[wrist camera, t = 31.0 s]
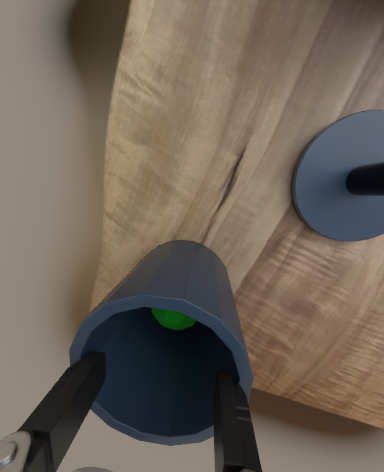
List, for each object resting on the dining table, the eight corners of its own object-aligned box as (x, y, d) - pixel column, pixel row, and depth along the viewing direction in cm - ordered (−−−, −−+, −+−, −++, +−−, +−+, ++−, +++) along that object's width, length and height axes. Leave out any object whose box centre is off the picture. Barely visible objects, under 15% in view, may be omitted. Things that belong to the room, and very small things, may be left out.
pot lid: (391, 244, 17) (478, 268, 12) (278, 232, 18) (310, 249, 12) (436, 120, 15) (572, 77, 9) (303, 111, 15) (357, 66, 10)
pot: (222, 328, 21) (236, 458, 11) (137, 316, 21) (74, 429, 11) (234, 245, 19) (268, 310, 8) (140, 235, 19) (63, 283, 9)
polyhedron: (176, 255, 19) (166, 276, 14) (214, 283, 19) (217, 312, 14) (149, 290, 20) (132, 320, 15) (185, 315, 20) (180, 352, 16)
